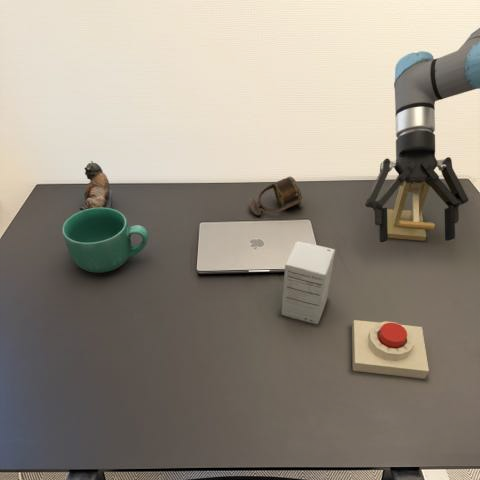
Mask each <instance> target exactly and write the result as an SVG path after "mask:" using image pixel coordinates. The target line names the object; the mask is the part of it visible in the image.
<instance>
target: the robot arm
mask: <svg viewBox="0 0 480 480" xmlns="http://www.w3.org/2000/svg"><path fill="white" fill-rule="evenodd" d="M393 89H394V107H395V108H394V109H395V115H394V117H395V138H396V139H395V160H391V159H390V158H387V157H386V158H385V159H384V160H383V161H382V162H381V163H380V165H379V174H378V175H377V178H376V180H375V182H374V184H373V186H372V188H371V190H370V193H369V195H368V197H367V199H366V201H365V203H364V204H365V207H366V208H371V209H372V210H373V211H374V224H375V226H379V243H385V242H387V241H389V238H388V226H387V209H388V207H384V206H385V205H386V203H387V202H388V201H389V200H390V198H391V197H392V196H393V195H394V193H395V192H396V191H397V190H398V189H399V188H400V185H401V183H402V182H403V181H405V182H407V183H412V182H416V183H422V182H424V181H425V182H426V184H428V185H430V188H431V189H432V190H433V191H434V192H435V194H436V195H437V196H438V197H439V198H440V199H441V200H442V201H443V203H444V204H445V205H446V206H447V207H446V208H444V241H446V242H447V241H451V240H455V239H456V224H457V223H459V220H460V219H459V218H460V217H459V215H460V213H459V211H460V209H459V207H460V206H462V205H464V204H466V203H468V202H469V197H468V195H467V193H466V191H465V189H464V188H463V186H462V183H461V182H460V180H459V178H458V176H457V174H456V172H455V170H454V168H453V161H452V160H453V159H452V158H451V157H450V156H447V157H446V158H444V159H437V157H436V135H435V131H436V115H435V107H436V106H435V105H436V102H438V101H441V100H444V99H448V98H451V97H454V96H458V95H461V94H464V93H467V92H472V91H474V90H478V89H480V27H478V28H477V29H475V31H473V32H472V33H471V34H470V35H469V36H468V38H467V39H466V40H465V42H463V44H462V45H461V46H460V47H459V48H458V49H457V50H455V51H453V52H451V53H448V54H445V55H443V56H440V57H437V58H434V56H433V54H432V53H431V52H429V51H424V50H423V51H422V50H421V51H420V50H419V51H418V52H410V53H407V54H406V55H404V56H402V57H401V58H400V59H399V60H398V61H397V62H396V64H395V68H394V82H393ZM436 168H438V171H440V172H441V175H442V177H443V179H444V181H445V183H446V184H445V183H444V182H443V181H442V180H441V178H440V175H438V174H437V172H436V171H435V170H436ZM393 169H394V170H395V172H396V173H397V176H396V178H395V179H394V180H393V182H392V183H391V184H390V186H389V187H388V188H387V189H386V191H384V193H383V194H382V196H381V197H380V198H379V199H378V196H379V194H380V192H381V191H382V188H383V185H384V183H385V181H386V179H387V176H388V175H389V173H390V172H391V171H392V170H393ZM377 199H378V200H377Z"/></svg>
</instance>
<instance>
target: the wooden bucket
mask: <svg viewBox="0 0 480 480" xmlns="http://www.w3.org/2000/svg"><path fill="white" fill-rule="evenodd" d="M272 189H273V193H274V195H275V199H276V201H277V203H278V205H279V206H280V207H279V208H274V209H273V208H268V207H265V206H264V205H263V204H262V201H261V199H262V197H263V194H265V192H267V191H269V190H272ZM301 192H302V191H301V189H300V187H299V184H298V183H297V180H296V179H295V178H294V177H292V176H291V175H290V176H287V177H285V178H282V179H280V180H278V181H275V182H273V183H272V184H269V185H267V186H265V187H264V188H263V189H262V190H261V191H260V192H259V194H258V197H257V201H256V200H255V199H254V198H250V199H249V201H248V207H249V210H250V211H251V213H253V214H254V215H255V216H261V215H262V210H263V211H264V212H267V213H271V214H277V213H280V212H282V211H285V210H287V209H289V208H291V207H294V206H296V205H297V206H298V207H299V208H302V199H303V197H302V193H301Z"/></svg>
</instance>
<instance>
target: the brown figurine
mask: <svg viewBox="0 0 480 480" xmlns="http://www.w3.org/2000/svg"><path fill="white" fill-rule="evenodd" d="M84 170H85V172H84V175H85V176H86V179H87V180H90V181H89V183H88V184H87V186H86V188H85V191H84V193H83V194H84V196H83V198H84V199H83V201H84V204H81V205H80V206H79V208H78V212H80V211H83V210H86V209H91V208H110V209H111V205H112V198H113V197H112V196H113V192H112V190H111V187H110V182H109V179H108V176H107V175H106V173H104V171H103V168H102V167H101V166H100V165H99V164H98V163H96V162H94V161H92V160H90V162H89V163H87V165H86V167H84Z"/></svg>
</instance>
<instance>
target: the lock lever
mask: <svg viewBox="0 0 480 480" xmlns="http://www.w3.org/2000/svg"><path fill="white" fill-rule="evenodd" d="M421 186H422V183H416V182H412V183H410V186H409V190H408V193H411V211H412V219H413V221H402V220H399V221H398V227H399V228H411V229H423V230H425V231H434V230H435V227H436V225H435V222H427V221H426V222H424V221H423V222H419V191H420V189H421Z"/></svg>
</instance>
